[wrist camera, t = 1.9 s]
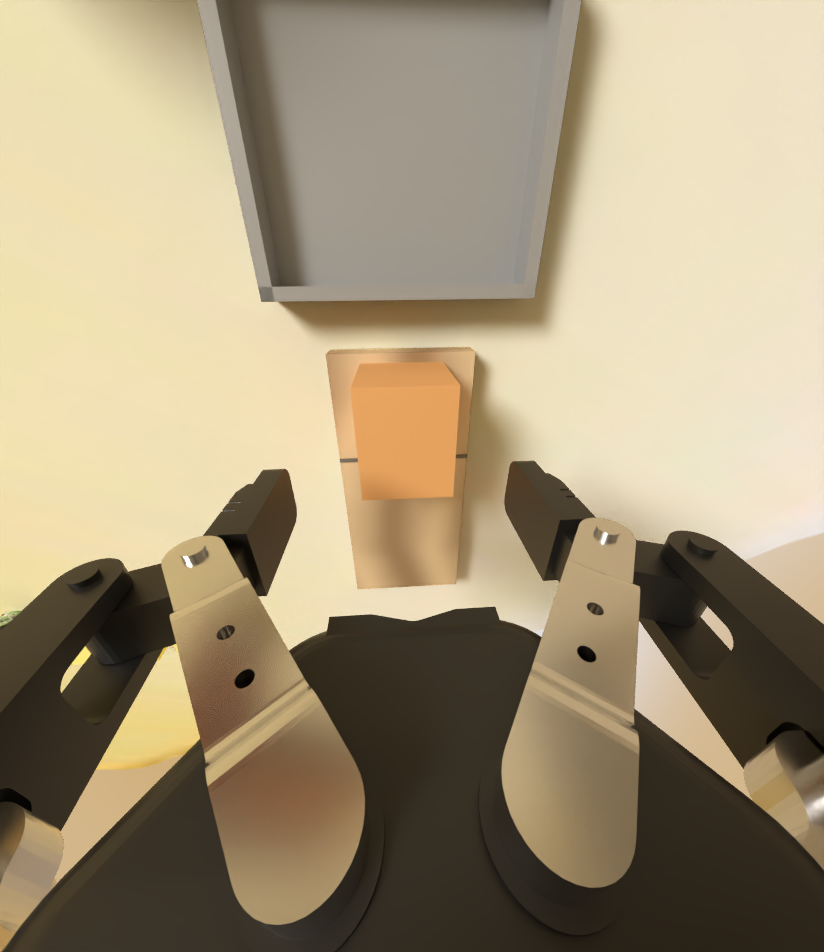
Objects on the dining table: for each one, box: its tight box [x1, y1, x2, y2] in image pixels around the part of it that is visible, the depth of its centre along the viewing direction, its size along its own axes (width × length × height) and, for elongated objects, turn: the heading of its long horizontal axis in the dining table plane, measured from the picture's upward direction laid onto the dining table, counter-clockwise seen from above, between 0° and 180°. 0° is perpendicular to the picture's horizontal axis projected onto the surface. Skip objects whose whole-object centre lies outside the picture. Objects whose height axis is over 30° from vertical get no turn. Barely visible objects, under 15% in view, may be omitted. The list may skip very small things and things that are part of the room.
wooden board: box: [326, 347, 475, 589], centre depth 22 cm, size 8×18×2 cm, turn 0°
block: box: [350, 362, 460, 500], centre depth 17 cm, size 4×6×5 cm
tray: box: [197, 0, 581, 302], centre depth 14 cm, size 13×11×2 cm
